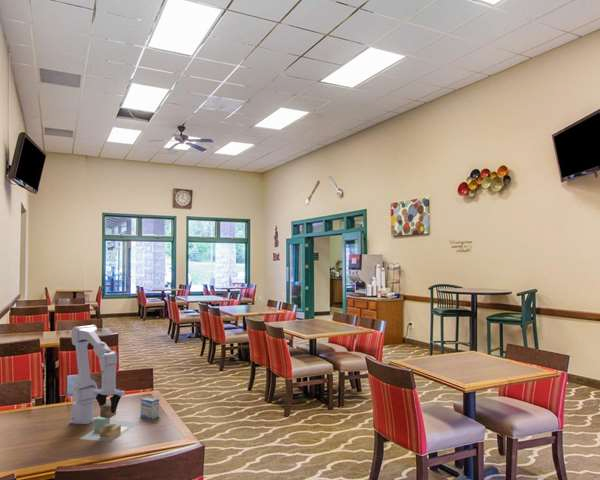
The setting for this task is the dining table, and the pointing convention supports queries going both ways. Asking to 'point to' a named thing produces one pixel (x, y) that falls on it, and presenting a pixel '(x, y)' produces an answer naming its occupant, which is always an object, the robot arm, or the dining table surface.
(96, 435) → the blueprint board
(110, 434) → the oak base block
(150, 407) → the medicine box
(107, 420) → the sage-green block
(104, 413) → the walnut block
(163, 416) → the dining table surface
